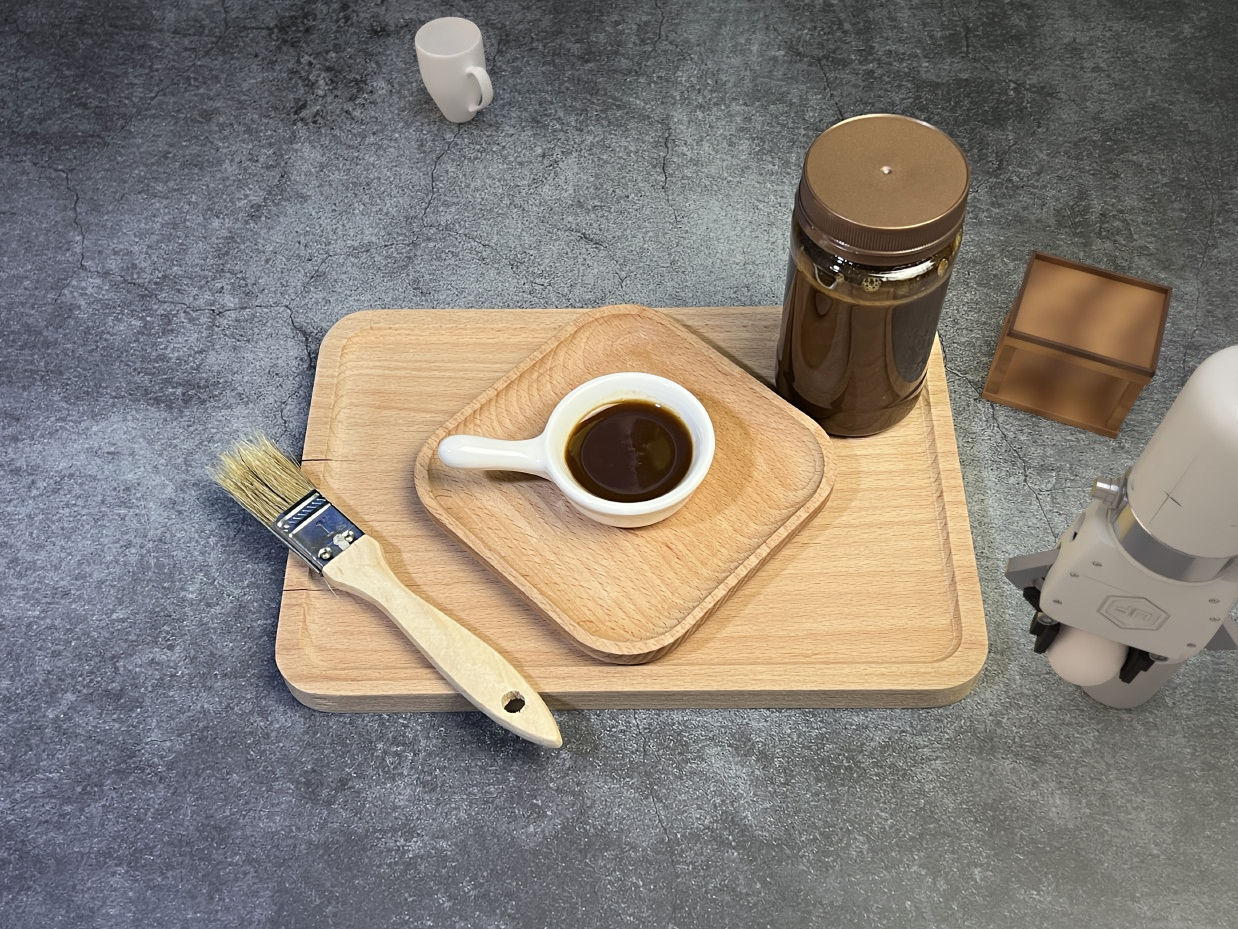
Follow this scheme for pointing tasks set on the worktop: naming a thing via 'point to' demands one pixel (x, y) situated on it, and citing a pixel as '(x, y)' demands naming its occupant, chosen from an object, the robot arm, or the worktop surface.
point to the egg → (1085, 656)
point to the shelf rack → (1078, 344)
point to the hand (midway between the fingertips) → (1084, 649)
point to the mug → (454, 67)
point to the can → (1134, 685)
